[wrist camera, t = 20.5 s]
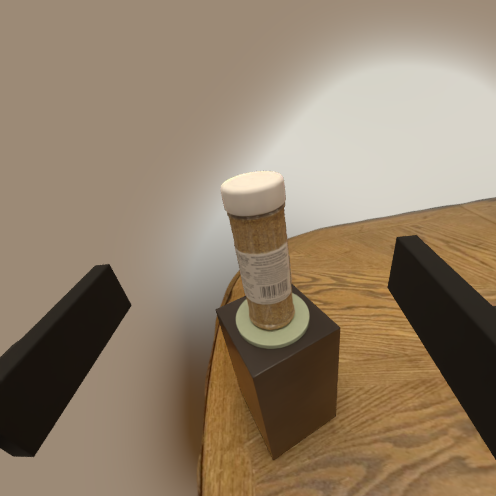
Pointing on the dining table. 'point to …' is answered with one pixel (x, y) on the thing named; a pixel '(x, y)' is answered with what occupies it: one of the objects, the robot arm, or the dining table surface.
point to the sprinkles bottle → (261, 245)
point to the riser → (286, 377)
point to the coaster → (277, 336)
